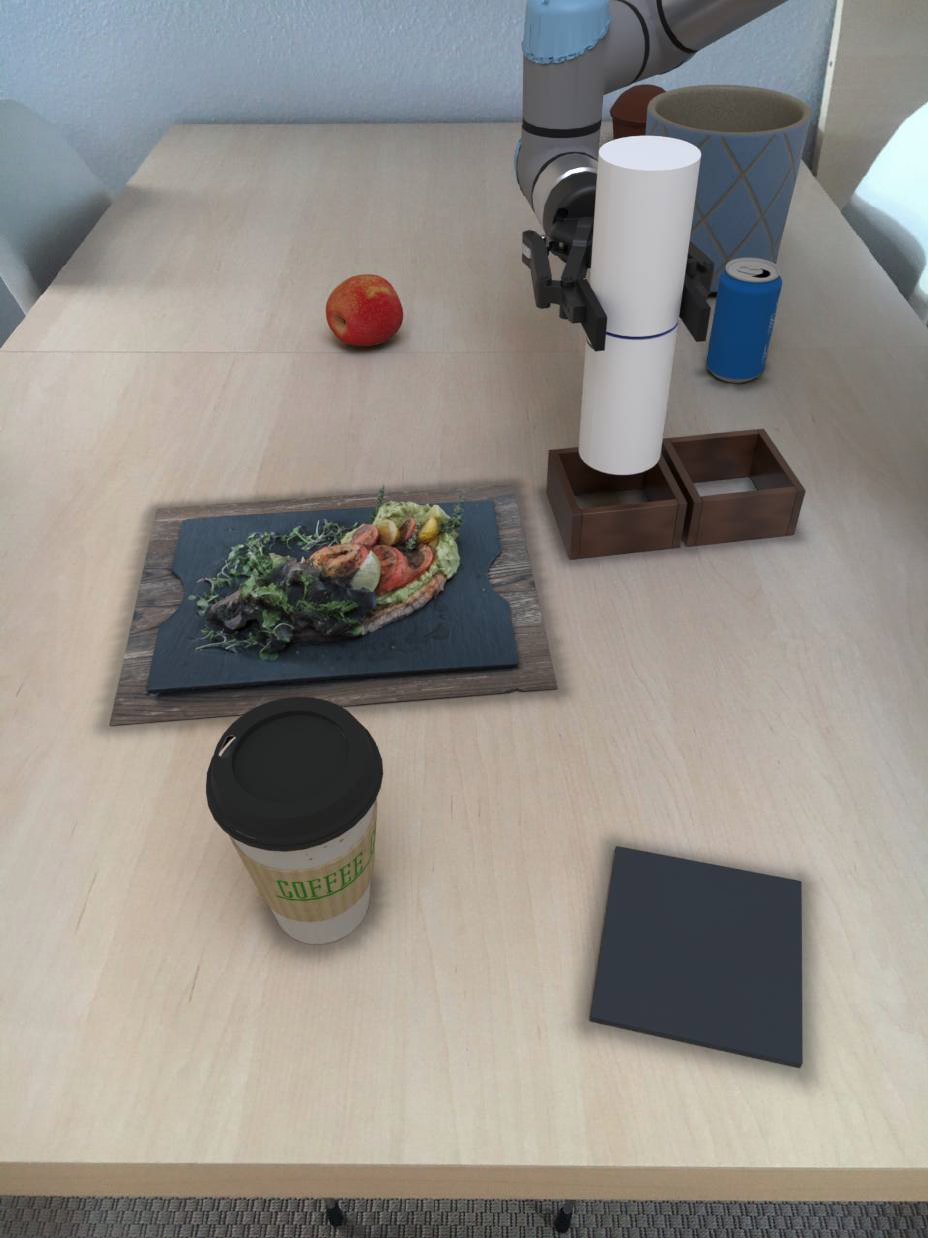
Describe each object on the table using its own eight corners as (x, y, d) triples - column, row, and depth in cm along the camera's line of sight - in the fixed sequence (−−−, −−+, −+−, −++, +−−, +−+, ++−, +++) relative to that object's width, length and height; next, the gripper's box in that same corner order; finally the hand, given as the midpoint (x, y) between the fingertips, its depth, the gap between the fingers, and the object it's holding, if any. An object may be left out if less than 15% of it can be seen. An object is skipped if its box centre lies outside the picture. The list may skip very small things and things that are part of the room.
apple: (412, 347, 117) (408, 283, 112) (348, 366, 114) (341, 301, 109) (383, 321, 122) (377, 258, 117) (320, 338, 120) (312, 274, 114)
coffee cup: (378, 983, 60) (355, 842, 50) (224, 958, 61) (170, 816, 51) (412, 847, 67) (398, 698, 57) (273, 827, 68) (235, 678, 58)
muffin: (598, 144, 167) (602, 79, 160) (661, 139, 169) (668, 74, 162) (619, 169, 159) (624, 101, 152) (685, 163, 160) (693, 95, 153)
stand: (754, 471, 98) (764, 427, 94) (794, 534, 90) (806, 490, 87) (546, 493, 96) (548, 449, 92) (569, 559, 89) (572, 515, 85)
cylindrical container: (616, 484, 83) (648, 178, 66) (562, 447, 88) (577, 150, 70) (677, 455, 86) (722, 154, 69) (621, 420, 90) (651, 128, 73)
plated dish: (511, 479, 98) (512, 416, 92) (563, 692, 78) (568, 626, 72) (152, 512, 95) (132, 448, 90) (110, 739, 75) (82, 674, 70)
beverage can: (751, 391, 109) (772, 287, 100) (696, 376, 111) (712, 273, 103) (771, 366, 113) (793, 263, 104) (717, 352, 115) (734, 251, 107)
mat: (799, 885, 64) (801, 880, 64) (800, 1068, 56) (802, 1064, 55) (615, 850, 66) (616, 845, 66) (589, 1021, 58) (590, 1016, 58)
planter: (644, 305, 124) (663, 136, 110) (621, 243, 138) (635, 86, 124) (795, 300, 124) (833, 131, 111) (757, 238, 138) (786, 81, 124)
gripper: (682, 244, 94) (772, 362, 77) (473, 261, 92) (519, 387, 75) (693, 161, 89) (792, 269, 72) (472, 178, 87) (521, 293, 70)
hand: (652, 329), depth 74 cm, fingers closed on cylindrical container, 7 cm apart
